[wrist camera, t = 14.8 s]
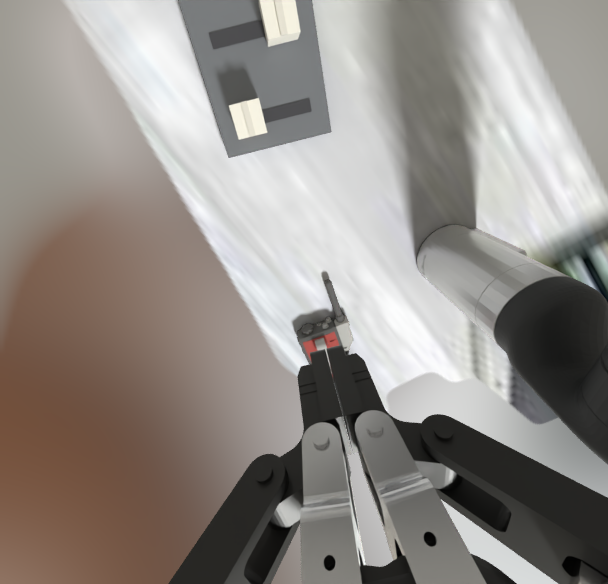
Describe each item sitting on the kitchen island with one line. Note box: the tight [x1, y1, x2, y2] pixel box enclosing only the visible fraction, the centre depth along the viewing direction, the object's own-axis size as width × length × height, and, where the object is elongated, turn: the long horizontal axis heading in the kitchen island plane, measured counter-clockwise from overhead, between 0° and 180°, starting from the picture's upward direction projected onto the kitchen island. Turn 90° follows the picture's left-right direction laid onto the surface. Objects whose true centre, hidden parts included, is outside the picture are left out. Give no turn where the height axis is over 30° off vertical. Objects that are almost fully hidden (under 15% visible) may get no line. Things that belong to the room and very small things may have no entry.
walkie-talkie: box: [297, 280, 353, 381], centre depth 47 cm, size 9×4×20 cm
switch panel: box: [178, 0, 331, 158], centre depth 29 cm, size 12×20×2 cm, turn 12°
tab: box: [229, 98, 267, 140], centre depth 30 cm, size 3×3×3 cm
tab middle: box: [259, 0, 301, 47], centre depth 26 cm, size 3×3×3 cm
